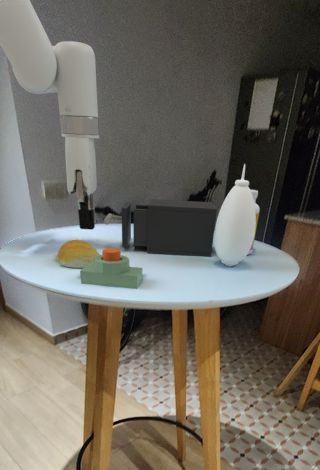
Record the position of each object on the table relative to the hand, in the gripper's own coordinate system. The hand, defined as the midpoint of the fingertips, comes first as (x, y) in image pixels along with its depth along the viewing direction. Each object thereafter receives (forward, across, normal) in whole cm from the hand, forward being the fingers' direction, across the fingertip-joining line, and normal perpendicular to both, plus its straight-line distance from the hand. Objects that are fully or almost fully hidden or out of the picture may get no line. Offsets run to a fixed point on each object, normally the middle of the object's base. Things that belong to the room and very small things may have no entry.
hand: (87, 228), depth 85 cm
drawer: (+3, 0, +13) cm, 13 cm away
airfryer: (+4, 0, +22) cm, 22 cm away
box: (+4, +27, +9) cm, 29 cm away
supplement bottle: (+4, 0, +36) cm, 36 cm away
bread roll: (+4, +16, +1) cm, 16 cm away
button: (0, +27, +9) cm, 28 cm away
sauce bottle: (+4, +12, +32) cm, 34 cm away
